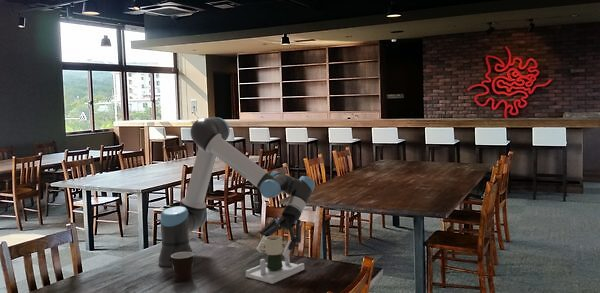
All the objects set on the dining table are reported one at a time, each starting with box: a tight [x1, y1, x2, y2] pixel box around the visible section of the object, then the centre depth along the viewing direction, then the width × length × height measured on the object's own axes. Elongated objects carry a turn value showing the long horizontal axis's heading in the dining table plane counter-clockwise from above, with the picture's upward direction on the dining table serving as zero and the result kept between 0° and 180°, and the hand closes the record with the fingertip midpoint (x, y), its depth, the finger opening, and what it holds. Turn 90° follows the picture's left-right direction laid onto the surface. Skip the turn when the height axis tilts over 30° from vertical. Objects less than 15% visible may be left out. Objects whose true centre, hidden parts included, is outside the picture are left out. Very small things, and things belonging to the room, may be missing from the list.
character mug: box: [260, 235, 288, 270], centre depth 213 cm, size 11×7×13 cm, turn 94°
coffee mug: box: [171, 252, 194, 284], centre depth 210 cm, size 12×9×10 cm
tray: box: [245, 254, 305, 284], centre depth 214 cm, size 14×20×8 cm
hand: (271, 253), depth 211 cm, fingers open, 13 cm apart
